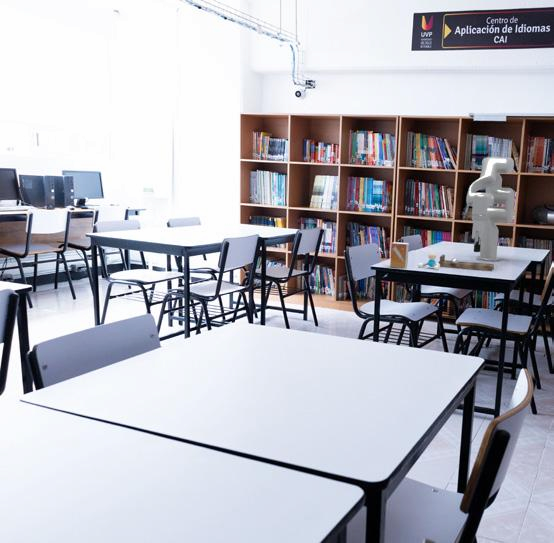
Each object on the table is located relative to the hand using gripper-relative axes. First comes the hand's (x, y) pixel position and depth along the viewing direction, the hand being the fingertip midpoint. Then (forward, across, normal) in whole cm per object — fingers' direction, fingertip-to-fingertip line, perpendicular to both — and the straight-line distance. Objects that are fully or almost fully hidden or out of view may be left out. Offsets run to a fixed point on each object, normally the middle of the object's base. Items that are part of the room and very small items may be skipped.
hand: (476, 251), depth 353 cm
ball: (+7, +1, -11) cm, 13 cm away
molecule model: (+9, +15, -20) cm, 27 cm away
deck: (+9, +2, -5) cm, 10 cm away
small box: (+8, +22, -37) cm, 44 cm away
